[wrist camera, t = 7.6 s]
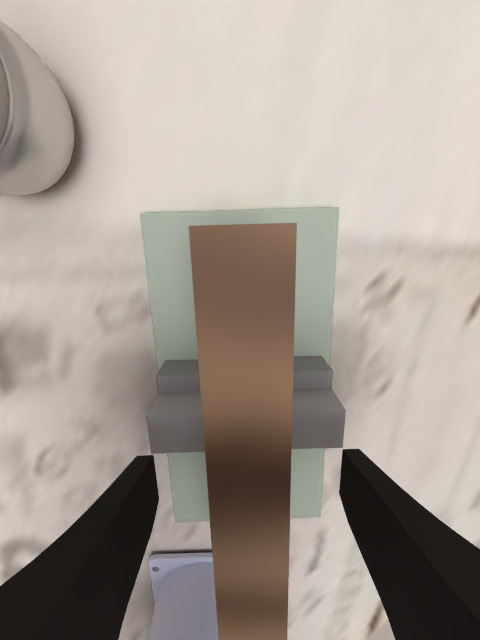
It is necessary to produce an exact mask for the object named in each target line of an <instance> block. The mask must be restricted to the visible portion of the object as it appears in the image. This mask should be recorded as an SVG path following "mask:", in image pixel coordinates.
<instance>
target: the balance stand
mask: <svg viewBox="0 0 480 640" xmlns="http://www.w3.org/2000/svg"><path fill="white" fill-rule="evenodd" d="M140 218H141V227H142V236H143V244H144V253H145V262H146V271H147V279H148V288H149V297H150V305H151V314H152V323H153V332H154V340H155V349H156V358H157V367H158V374H157V375H156V379H157V388H158V395H157V397H156V399H155V401H154V403H153V405H152V407H151V409H150V411H149V412H148V414H147V416H146V417H147V424H148V432H149V439H150V447H151V454H153V453H167V454H168V462H169V471H170V480H171V489H172V497H173V506H174V515H175V522H183V521H210V514H209V500H208V486H207V472H206V459H205V445H204V431H203V417H202V403H201V390H200V376H199V362H198V348H197V334H196V321H195V307H194V293H193V279H192V265H191V252H190V238H189V226H198V225H233V224H267V223H297V241H296V282H295V324H294V366H293V408H292V450H291V492H290V518H309V517H320V516H321V500H322V483H323V467H324V450H325V448H343V436H344V424H345V411H346V410H345V409H344V407H343V405H342V404H341V402H340V401H339V399H338V398H337V396H336V394H335V393H334V391H333V390H332V373H333V370H332V369H331V368H330V351H331V334H332V317H333V301H334V284H335V268H336V251H337V235H338V218H339V207H323V208H288V209H254V210H220V211H185V212H151V213H140Z"/></svg>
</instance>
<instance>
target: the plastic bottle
mask: <svg viewBox="0 0 480 640" xmlns="http://www.w3.org/2000/svg"><path fill="white" fill-rule="evenodd" d="M73 149H74V125H73V118H72V114H71V111H70V108H69V104H68V102H67V99H66V97H65V95H64V93H63V91H62V89H61V87H60V86H59V84H58V83H57V81H56V80H55V78H54V77H53V75H52V74H51V72H50V71H49V70H48V68H47V67H46V66H45V65H44V63H43V62H42V61H41V59H40V58H39V57H38V55H37V54H36V53H35V51H34V50H33V49H32V48H31V47H30V46H29V45H28V44H27V43H26V42H25V41H24V39H23V38H22V37H21V36H20V35H18V34H17V33H16V32H15V31H13V30H12V29H11V28H9V27H8V26H7V25H6V24H4V23H3V22H2V21H0V196H16V195H28V194H34V193H38V192H41V191H43V190H46V189H48V188H49V187H51V186H52V185H53V184H55V183H56V182H57V181H58V180H59V179H60V178H61V176H62V175H63V174H64V173H65V171H66V169H67V167H68V165H69V163H70V161H71V157H72V153H73Z"/></svg>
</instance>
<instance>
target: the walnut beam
mask: <svg viewBox="0 0 480 640" xmlns="http://www.w3.org/2000/svg"><path fill="white" fill-rule="evenodd" d="M189 238H190V252H191V265H192V279H193V293H194V307H195V321H196V334H197V348H198V362H199V376H200V390H201V403H202V417H203V431H204V445H205V459H206V472H207V486H208V500H209V514H210V528H211V541H212V555H213V569H214V583H215V597H216V610H217V624H218V638H219V640H287V618H288V576H289V534H290V492H291V450H292V408H293V366H294V324H295V282H296V241H297V223H267V224H233V225H198V226H189Z"/></svg>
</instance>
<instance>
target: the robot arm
mask: <svg viewBox="0 0 480 640" xmlns="http://www.w3.org/2000/svg"><path fill="white" fill-rule="evenodd" d="M339 494H340V497H341V500H342V504H343V507H344V510H345V513H346V517H347V520H348V523H349V525H350V528H351V530H352V533H353V535H354V537H355V540H356V542H357V544H358V547H359V549H360V551H361V554H362V556H363V558H364V561H365V563H366V566H367V568H368V570H369V573H370V575H371V577H372V580H373V582H374V584H375V587H376V589H377V591H378V594H379V596H380V598H381V601H382V604H383V606H384V609H385V611H386V614H387V616H388V619H389V622H390V625H391V628H392V631H393V634H394V637H395V639H396V640H480V549H479V548H477V547H476V546H474V545H473V544H472V543H470V542H469V541H467V540H466V539H465V538H463V537H462V536H460V535H459V534H458V533H456V532H455V531H454V530H452V529H451V528H450V527H448V526H447V525H446V524H444V523H443V522H442V521H440V520H439V519H438V518H437V517H435V516H434V515H433V514H432V513H430V512H429V511H428V510H427V509H425V508H424V507H423V506H422V505H421V504H419V503H418V502H417V501H416V500H415V499H413V498H412V497H411V496H410V495H409V494H408V493H406V492H405V491H404V490H403V489H402V488H401V487H400V486H398V485H397V484H396V483H395V482H394V481H393V480H392V479H391V478H390V477H389V476H387V475H386V474H385V473H384V472H383V471H382V470H381V469H380V468H379V467H378V466H377V465H376V464H375V463H373V462H372V461H371V460H370V459H369V458H368V457H367V456H366V455H365V454H364V453H363V452H362V451H361V450H359V449H343V453H342V465H341V478H340V490H339ZM158 501H159V495H158V487H157V480H156V472H155V464H154V457H153V455H149V456H137V457H136V458H135V459H134V460H133V461H132V462H131V463H130V464H129V465H128V466H127V468H126V469H125V470H124V471H123V472H122V473H121V474H120V475H119V477H118V478H117V479H116V480H115V481H114V482H113V483H112V484H111V485H110V487H109V488H108V489H107V490H106V491H105V492H104V493H103V494H102V495H101V496H100V497H99V498H98V499H97V500H96V502H95V503H94V504H93V505H92V506H91V507H90V508H89V509H88V510H87V511H86V512H85V513H84V514H83V515H82V516H81V517H80V518H79V519H78V520H77V521H76V522H75V523H74V524H73V525H72V526H71V527H70V528H69V529H68V530H66V531H65V532H64V533H63V534H62V535H61V536H60V537H59V538H58V539H57V540H56V541H55V542H53V543H52V544H51V545H50V546H49V547H48V548H47V549H45V550H44V551H43V552H42V553H41V554H40V555H39V556H37V557H36V558H35V559H34V560H33V561H31V562H30V563H29V564H28V565H26V566H25V567H24V568H23V569H21V570H20V571H19V572H18V573H16V574H15V575H14V576H13V577H11V578H10V579H9V580H7V581H6V582H5V583H4V584H2V585H1V586H0V640H118V638H119V634H120V630H121V626H122V622H123V619H124V616H125V612H126V609H127V605H128V602H129V599H130V596H131V593H132V590H133V587H134V584H135V581H136V578H137V575H138V572H139V569H140V566H141V563H142V560H143V557H144V554H145V551H146V547H147V544H148V541H149V538H150V535H151V532H152V529H153V524H154V520H155V515H156V510H157V506H158ZM148 565H149V571H150V578H151V584H152V591H153V597H154V604H155V608H154V613H153V617H152V622H151V626H150V631H149V635H148V640H219V638H218V624H217V610H216V597H215V583H214V569H213V555H212V552H209V553H178V554H154V555H152V556H151V557H150V559H149V562H148Z"/></svg>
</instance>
